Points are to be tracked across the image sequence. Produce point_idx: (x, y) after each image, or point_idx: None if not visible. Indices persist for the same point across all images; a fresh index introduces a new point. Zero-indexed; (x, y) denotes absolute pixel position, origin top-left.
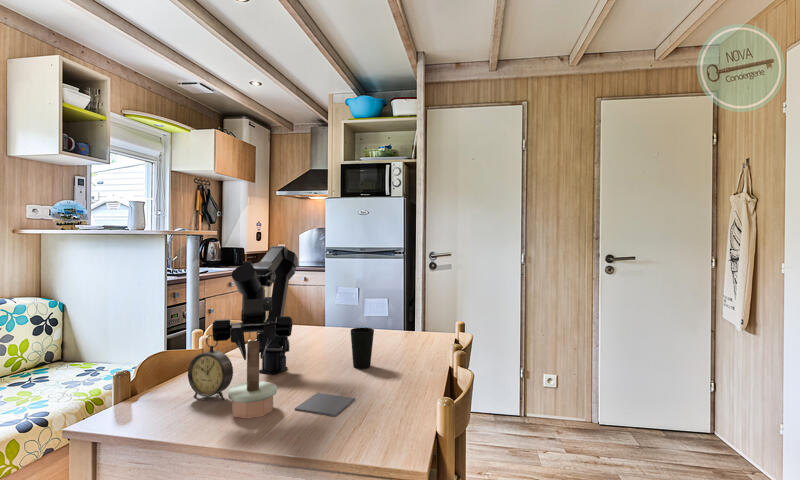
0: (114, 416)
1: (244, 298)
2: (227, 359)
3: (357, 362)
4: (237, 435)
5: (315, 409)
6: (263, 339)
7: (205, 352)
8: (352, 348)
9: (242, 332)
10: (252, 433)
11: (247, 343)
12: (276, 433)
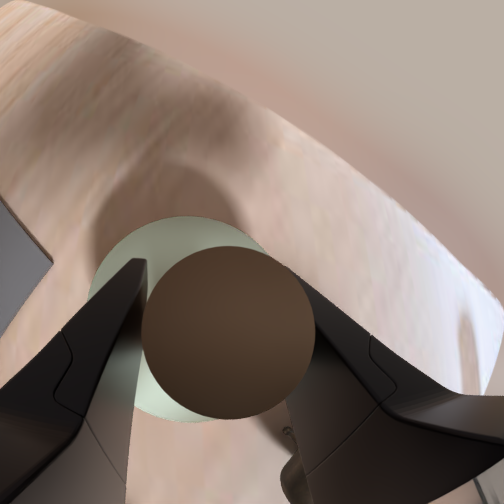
0: (478, 360)
1: None
2: None
3: None
4: (235, 149)
5: (4, 228)
6: (81, 372)
7: None
8: None
9: (453, 420)
10: (197, 145)
11: (308, 313)
12: (138, 124)
